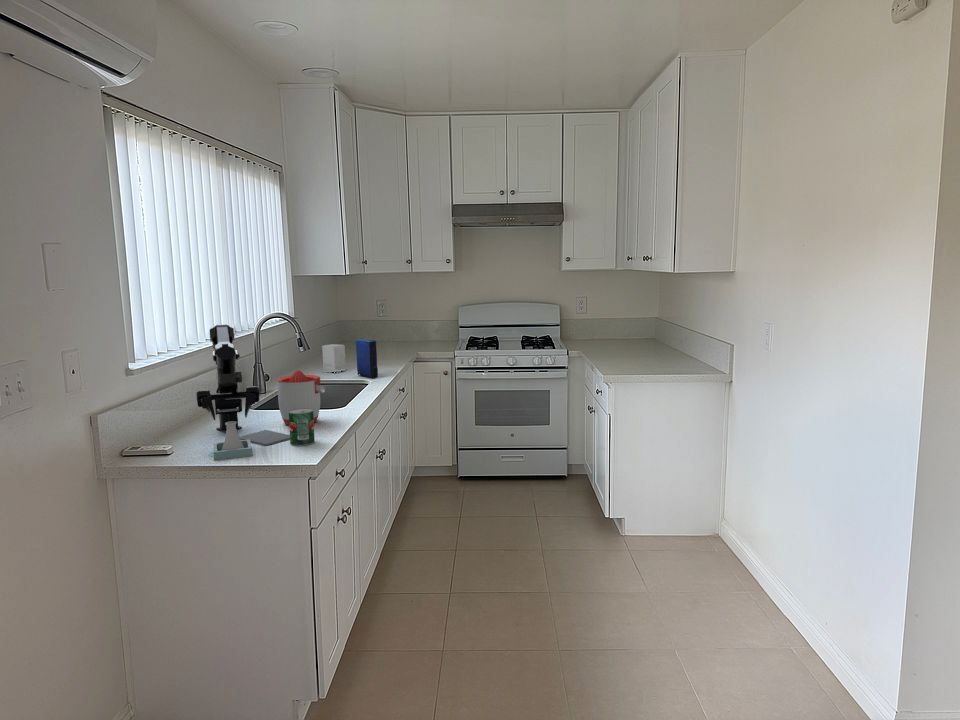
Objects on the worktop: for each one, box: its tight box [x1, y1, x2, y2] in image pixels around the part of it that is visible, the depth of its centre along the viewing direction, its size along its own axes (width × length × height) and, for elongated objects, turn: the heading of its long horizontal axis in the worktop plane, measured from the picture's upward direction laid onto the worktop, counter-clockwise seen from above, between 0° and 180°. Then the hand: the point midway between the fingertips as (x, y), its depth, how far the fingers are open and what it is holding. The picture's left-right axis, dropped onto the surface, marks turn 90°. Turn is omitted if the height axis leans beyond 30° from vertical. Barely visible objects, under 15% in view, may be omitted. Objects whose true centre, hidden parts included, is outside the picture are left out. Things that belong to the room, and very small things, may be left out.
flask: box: [221, 421, 244, 451], centre depth 201 cm, size 7×7×10 cm
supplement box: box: [321, 343, 347, 374], centre depth 356 cm, size 9×9×15 cm
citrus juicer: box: [276, 369, 326, 426], centre depth 239 cm, size 16×17×20 cm
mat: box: [238, 429, 290, 447], centre depth 219 cm, size 16×12×1 cm
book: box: [355, 338, 379, 379], centre depth 337 cm, size 14×5×20 cm, turn 43°
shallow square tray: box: [212, 439, 254, 461], centre depth 201 cm, size 11×11×2 cm
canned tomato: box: [288, 408, 316, 447], centre depth 212 cm, size 8×8×11 cm
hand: (230, 418), depth 203 cm, fingers open, 9 cm apart
